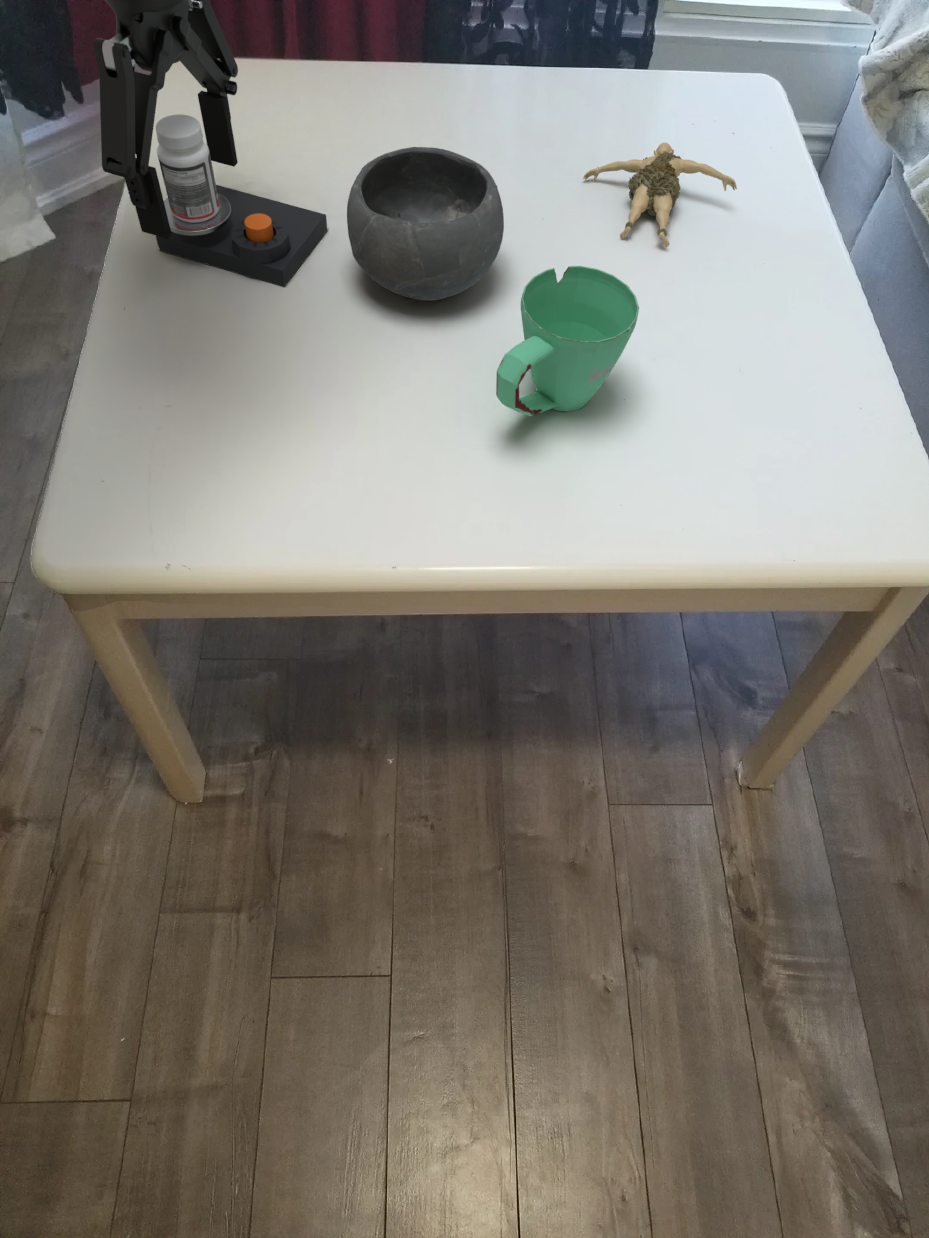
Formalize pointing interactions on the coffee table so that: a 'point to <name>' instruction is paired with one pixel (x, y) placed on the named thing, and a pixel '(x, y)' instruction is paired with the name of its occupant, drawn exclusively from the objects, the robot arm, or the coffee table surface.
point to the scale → (254, 259)
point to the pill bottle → (186, 169)
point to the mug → (567, 339)
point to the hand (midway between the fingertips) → (191, 196)
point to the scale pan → (200, 227)
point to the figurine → (657, 184)
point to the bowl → (425, 222)
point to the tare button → (259, 228)
